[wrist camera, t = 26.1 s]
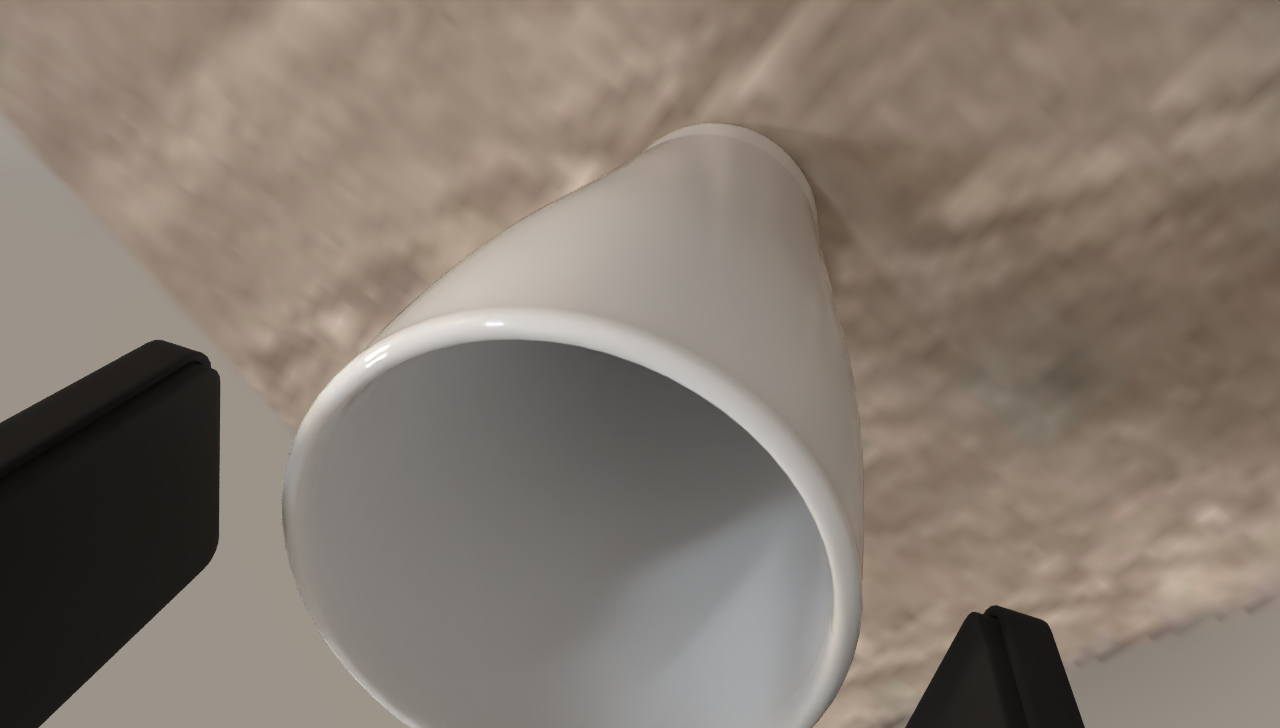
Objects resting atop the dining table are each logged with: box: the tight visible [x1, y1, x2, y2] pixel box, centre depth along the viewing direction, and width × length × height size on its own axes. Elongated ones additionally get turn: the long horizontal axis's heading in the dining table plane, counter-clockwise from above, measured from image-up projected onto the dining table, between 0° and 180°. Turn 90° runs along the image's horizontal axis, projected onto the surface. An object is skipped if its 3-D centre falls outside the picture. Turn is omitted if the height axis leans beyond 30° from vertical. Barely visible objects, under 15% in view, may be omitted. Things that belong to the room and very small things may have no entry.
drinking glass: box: [282, 123, 864, 728], centre depth 16 cm, size 7×7×15 cm
